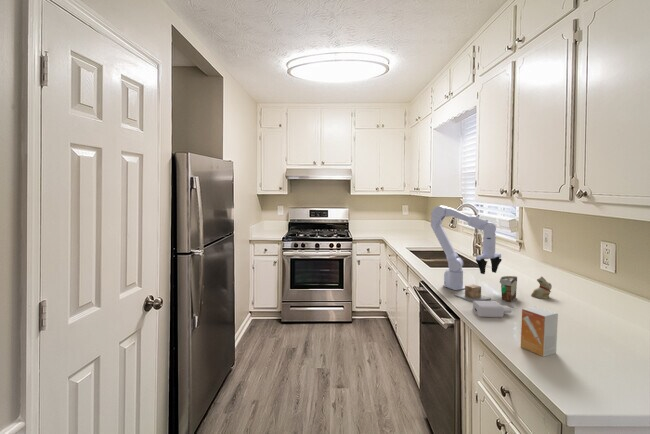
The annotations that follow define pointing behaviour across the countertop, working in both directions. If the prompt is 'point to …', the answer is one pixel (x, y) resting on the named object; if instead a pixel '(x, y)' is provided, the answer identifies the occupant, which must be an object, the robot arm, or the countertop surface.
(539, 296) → the chocolate bunny
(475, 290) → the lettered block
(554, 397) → the countertop surface
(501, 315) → the charger
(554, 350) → the small box
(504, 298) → the food container
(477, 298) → the slate board
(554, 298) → the countertop surface
